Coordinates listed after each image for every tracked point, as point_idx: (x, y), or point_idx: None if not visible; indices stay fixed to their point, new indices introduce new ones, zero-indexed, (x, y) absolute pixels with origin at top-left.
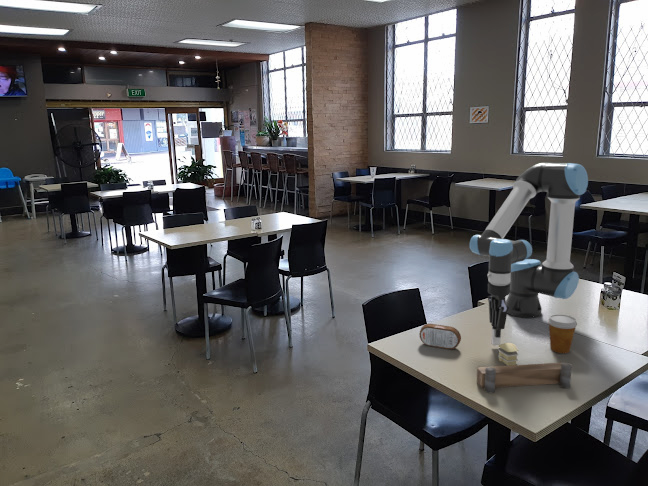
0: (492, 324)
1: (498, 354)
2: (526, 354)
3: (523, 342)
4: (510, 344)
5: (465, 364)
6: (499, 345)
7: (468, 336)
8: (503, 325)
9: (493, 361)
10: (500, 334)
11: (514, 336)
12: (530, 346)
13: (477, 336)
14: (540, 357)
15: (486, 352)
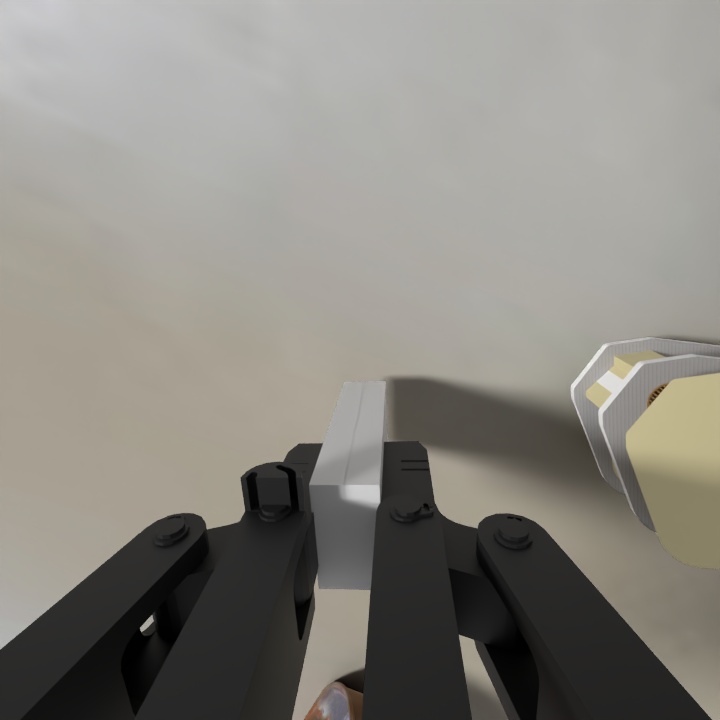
0: (300, 617)
1: (623, 489)
2: (556, 154)
3: (252, 56)
4: (692, 416)
5: None
6: (682, 551)
7: (132, 528)
8: (589, 612)
9: (626, 510)
10: (383, 436)
11: (93, 101)
12: (363, 10)
13: (126, 463)
14: (666, 11)
15: (450, 502)
